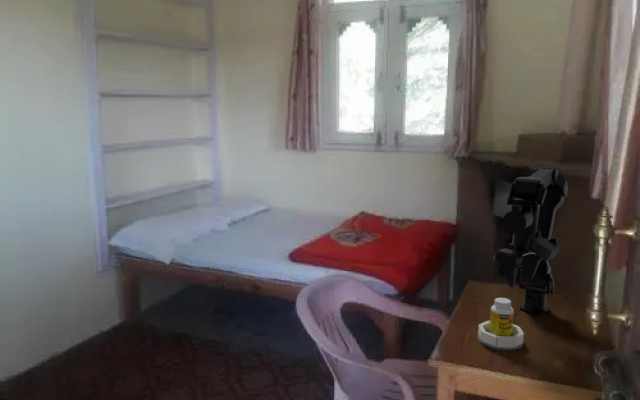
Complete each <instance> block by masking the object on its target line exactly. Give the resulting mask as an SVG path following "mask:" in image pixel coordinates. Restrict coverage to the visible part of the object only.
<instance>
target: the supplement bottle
mask: <svg viewBox="0 0 640 400" xmlns="http://www.w3.org/2000/svg"><path fill="white" fill-rule="evenodd" d="M514 311H515V310H514V308H513V307H512V301H511V299H509V298H507V297H497V298H494V303H493V305H491V307H490V314H489V315H490V316H489V317H490V318H489V319H490V320H489V321H490V329H489V333H491V334H494V335H496V336H510V337H512V328H513V324H514V315H515V314H514V313H515V312H514Z"/></svg>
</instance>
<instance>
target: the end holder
mask: <svg viewBox="0 0 640 400" xmlns="http://www.w3.org/2000/svg"><path fill="white" fill-rule="evenodd" d="M489 329H490V320H485V321H483V322H482V323H479V324H478V331H477V340H478V342H479V343H480V344H482V345H484V346H485V347H487V348H491V349H494V350H497V351H508V352H509V351H516V350H519V349H521V348H522V347H523V346H524V337H525V336H524V335H525V333H524V331H523V330H522V328H521V327H520V326H519V325H516V324H514V323H513V328H512V337H510V336H496V335H494V334H491V333H489Z"/></svg>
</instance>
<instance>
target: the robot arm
mask: <svg viewBox="0 0 640 400" xmlns="http://www.w3.org/2000/svg"><path fill="white" fill-rule="evenodd" d="M568 192H569V186H568V181H567V179H566V177H564V176H563V175H562V174H561V173H560V172H559V169H558V168H556V167H548V166H541V167H538V168H537V170H536V171H535V172H533V173H532V174H531V175H530V176H519V177H516V178H515V180H514V181H513V182H512V183H511V187H510V191H509V193H508V194H509V195H508V197H507V200H506V205H507V206H511V210H510V211H507V212H506V213H505V214H504V216H503V217H502V226H503V228H504V230H506V231H507V232H508V233H510V234H512V242H511V243H509V244H508V248H505V247H504V248H502V249H501V248H500V249H498V250H496V251H495V252H494V254H493V261H494V262H496V264H498V265H499V267H500V268H501V270H502V273H503V274H504V277H505V279H506V282H507V284H508V286H509V287H510V288H514V287H515V283H516V278H517V274H518V273H519V274H518V287H519V288H518V289H519V290H525V292H524V304H523V305H520V306H518V307H519V309H520V310H521V311H525V312H529V313H531V314H535V315H538V316H540V315H543V314H544V313H547V312H550V311H551V308H550V307H547V306H546V302H547V301H546V300H547V295H551V294H554V293H555V282H554V278H553V274H552V267H551V265H550V263H549V261H550V260H551V259H552V260H553V259H555V257H556V254H557V253H558V252H561V249H560V248H561V246H560V242H561V241H560V239H559V238H557V237H555V236H554V237H552V234H553V232H554V231H553V229H554V224H555V219H556V213H557V211H558V210H559V209H560V208H561V207H562V206H563V204H564V202H565V199H566V198H567V197H568ZM521 267H522V268H521ZM520 268H521V269H520ZM518 269H520V270H519V272H518Z"/></svg>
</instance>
